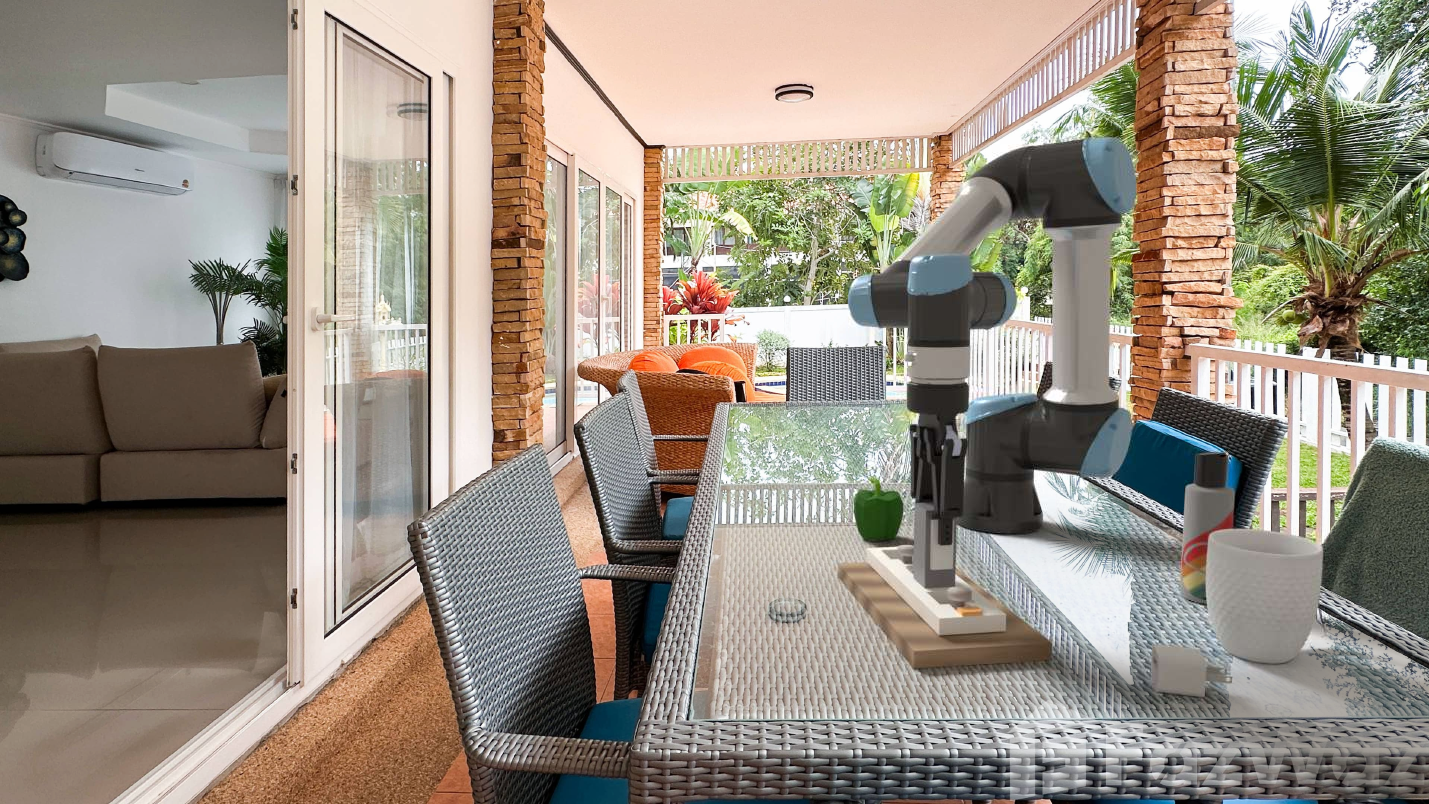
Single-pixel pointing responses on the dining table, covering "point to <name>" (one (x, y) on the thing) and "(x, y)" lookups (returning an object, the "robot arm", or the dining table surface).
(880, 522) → the bell pepper
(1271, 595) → the mug
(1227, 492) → the lotion bottle
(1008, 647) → the pin board
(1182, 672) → the usb wall charger
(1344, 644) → the dining table surface
